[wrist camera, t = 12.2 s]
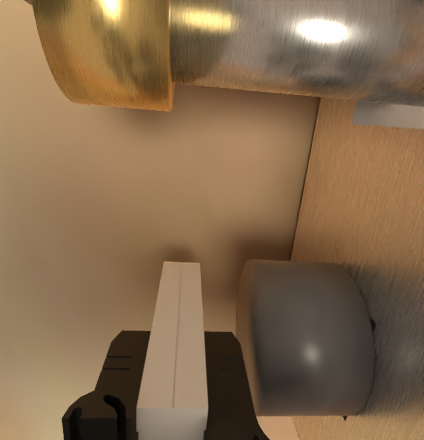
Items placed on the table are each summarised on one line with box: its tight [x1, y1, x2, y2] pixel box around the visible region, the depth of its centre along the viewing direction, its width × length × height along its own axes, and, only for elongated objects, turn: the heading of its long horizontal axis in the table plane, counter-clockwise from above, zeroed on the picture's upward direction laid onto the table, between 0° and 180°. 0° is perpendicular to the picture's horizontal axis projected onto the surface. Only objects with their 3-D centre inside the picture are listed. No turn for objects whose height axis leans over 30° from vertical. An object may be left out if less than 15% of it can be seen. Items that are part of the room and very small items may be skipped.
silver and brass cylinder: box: [25, 0, 424, 112], centre depth 8 cm, size 11×4×4 cm, turn 85°
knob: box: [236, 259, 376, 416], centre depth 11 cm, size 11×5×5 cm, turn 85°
